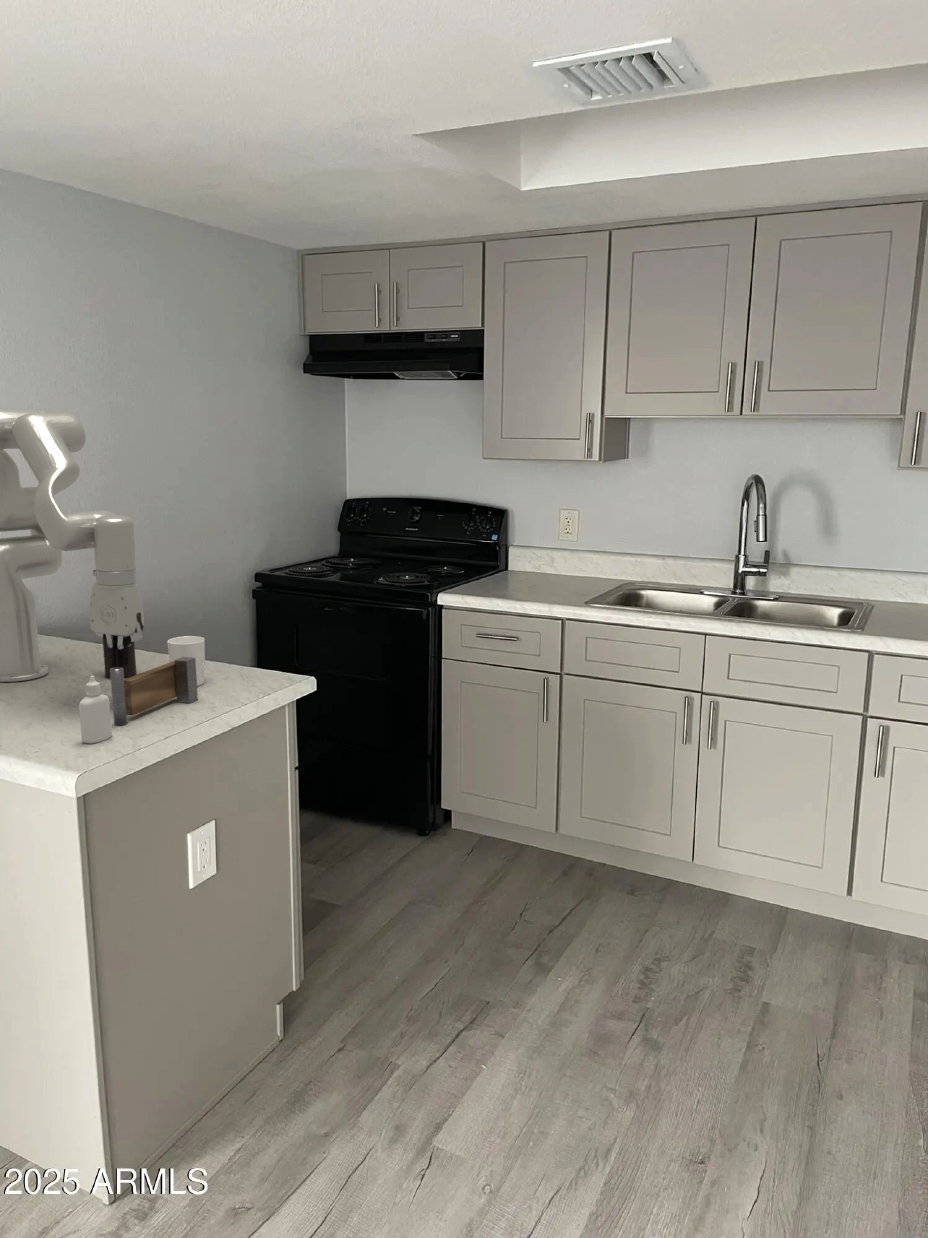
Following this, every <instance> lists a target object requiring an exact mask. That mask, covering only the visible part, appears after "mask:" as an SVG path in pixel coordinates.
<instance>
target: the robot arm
mask: <svg viewBox="0 0 928 1238" xmlns="http://www.w3.org/2000/svg"><path fill="white" fill-rule="evenodd" d="M86 438H87V436H86V431H85V428H84V425H83V423H82V422H81V421H80V420H79V418H77V416H75V415H74V414H71V413H69V412H61V411H54V410H47V409H33V408H32V409H31V408H30V409H28V408H27V409H25V408H23V409H22V408H18V409H17V408H16V409H14V408H0V533H6V532H16V531H17V532H19V531H28V530H29V531H30V535H24V536H10V537H1V538H0V682H1V683H2V682H4V683H11V682H13V683H14V682H23V681H29V680H34V679H39V678H41V677H44V676H45V675H48V673H49V666H47V665H45V664H41V655H40V644H39V643H40V642H39V635H38V633H39V631H38V622H37V614H36V613H37V611H36V602H35V598H34V594H33V593H32V592H31V590H30V589H29V587H27V585H26V584H25V583H24V582H23V580H24V579H30V578H31V579H32V578H38V577H43V576H50V575H51V576H52V575H53V574H55V573H57V572H58V571H59V570H60V568H61V565H62V561H63V553H62V552H71V551H80V550H81V551H82V550H85V549H86V550H87V549H94V562H95V564H94V565H95V569H93V570H92V576H93V577H95V581H96V582H95V583H93V584H92V589H91V594H90V604H89V623H90V624H89V625H90V629H91V631H93V632H94V633H95V635H96V636H98V637H101V638H102V639H103V638H104V639H105V640H106V642H107V644H108V647H109V648H111V660H112V667H124V666H126V665H128V664H129V655H128V647H129V646H130V645H131V643H132V642H133V641H134V642H139V641H141V640H143V639H144V638H143V633H142V632H143V631H144V629H145V616H144V615H145V614H144V608H143V607H144V606H143V600H142V594H141V589H140V585H139V584H137V573H136V572H137V570H136V550H135V549H136V547H135V546H136V544H135V526H134V520H133V519H132V518H131V517H129V516H127V515H120V514H118V515H117V514H115V513H113V512H111V511H108V510H103V509H102V510H91V511H90V510H85V511H73V512H63V511H62V510H61V509H60V507H59V505H58V503H57V502H56V500H55V498H54V497H55V495H57V494H59V493H61V492H63V491H65V490H66V489H68V488H70V486H72V485H73V484H74V483H76V481H77V480H78V478H79V477H80V473H81V469H80V466H79V464H78V462H77V461H76V459H75V457H74V455H73V454H72V453H76V452H80V451H81V450H82V449H83V448H84V447H85V443H86V440H87V439H86ZM8 449H9V450H11V449H12V450H16V449H17V450H18V449H19V450H20V452H21V454H22V456H23V458H24V459H25V461H26V462H27V464H28V466H29V468H30V469H31V471H32V472H33V474H34V476H35V478H36V480H37V481H38V485H37V486H27V487H22V486H21V480H20V471H19V468H18V465H17V463H16V462H15V460H14V458H13V457H11V455H10V454H9V453H8V452H7V451H6V450H8ZM132 634H133V635H132Z"/></svg>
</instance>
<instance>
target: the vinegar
mask: <svg viewBox="0 0 928 1238" xmlns="http://www.w3.org/2000/svg"><path fill="white" fill-rule="evenodd" d="M132 635H133V634H132ZM135 647H136V646H135V641H133V642H132V643H131V645H130V646H129V647H128V655H129V664H128V665H126V666H124V667H122V668H123V672H124V679H127V678H129V677H132V676H135V675H137V662H136V648H135ZM102 648H103V649H102V650H103V661H104V675H105V677H107V678H108V679H111V677H110V669H111V668H114V667H112V660H111V648H109V647H108V644H107V642H106V640H105V639H104V638H102Z"/></svg>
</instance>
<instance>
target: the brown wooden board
mask: <svg viewBox="0 0 928 1238" xmlns="http://www.w3.org/2000/svg"><path fill="white" fill-rule="evenodd" d="M124 685H125V698H126V712H127V716H135V715H138V714H140V713H142V712H145V711H147V710H149V709H152V708H154V707H156V706H159V705H161V704H163V703H166V702H168V701H170V700H173V699H175V698H177V695H176V679H175V663H174V661H172V662H170V661H169V662H166V663H165V664H162V665H159V666H156V667H154V668H151V669H148V670H146V671H143V672H141V673H136V674H135V675H134V676H131V677H127V678H124Z"/></svg>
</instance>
